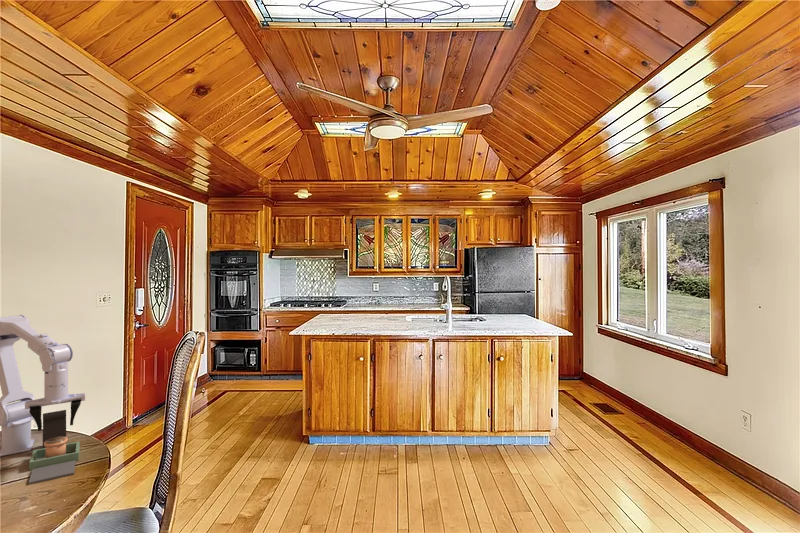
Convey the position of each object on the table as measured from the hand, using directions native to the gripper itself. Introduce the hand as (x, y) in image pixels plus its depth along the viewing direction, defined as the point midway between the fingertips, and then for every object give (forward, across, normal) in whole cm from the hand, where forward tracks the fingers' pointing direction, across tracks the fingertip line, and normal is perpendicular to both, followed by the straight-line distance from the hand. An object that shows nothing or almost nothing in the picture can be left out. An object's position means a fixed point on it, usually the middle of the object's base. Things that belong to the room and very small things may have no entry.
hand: (56, 427), depth 131 cm
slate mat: (+10, 0, -10) cm, 14 cm away
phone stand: (+10, -1, +10) cm, 15 cm away
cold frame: (+10, 0, 0) cm, 10 cm away
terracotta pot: (+10, 0, 0) cm, 10 cm away
